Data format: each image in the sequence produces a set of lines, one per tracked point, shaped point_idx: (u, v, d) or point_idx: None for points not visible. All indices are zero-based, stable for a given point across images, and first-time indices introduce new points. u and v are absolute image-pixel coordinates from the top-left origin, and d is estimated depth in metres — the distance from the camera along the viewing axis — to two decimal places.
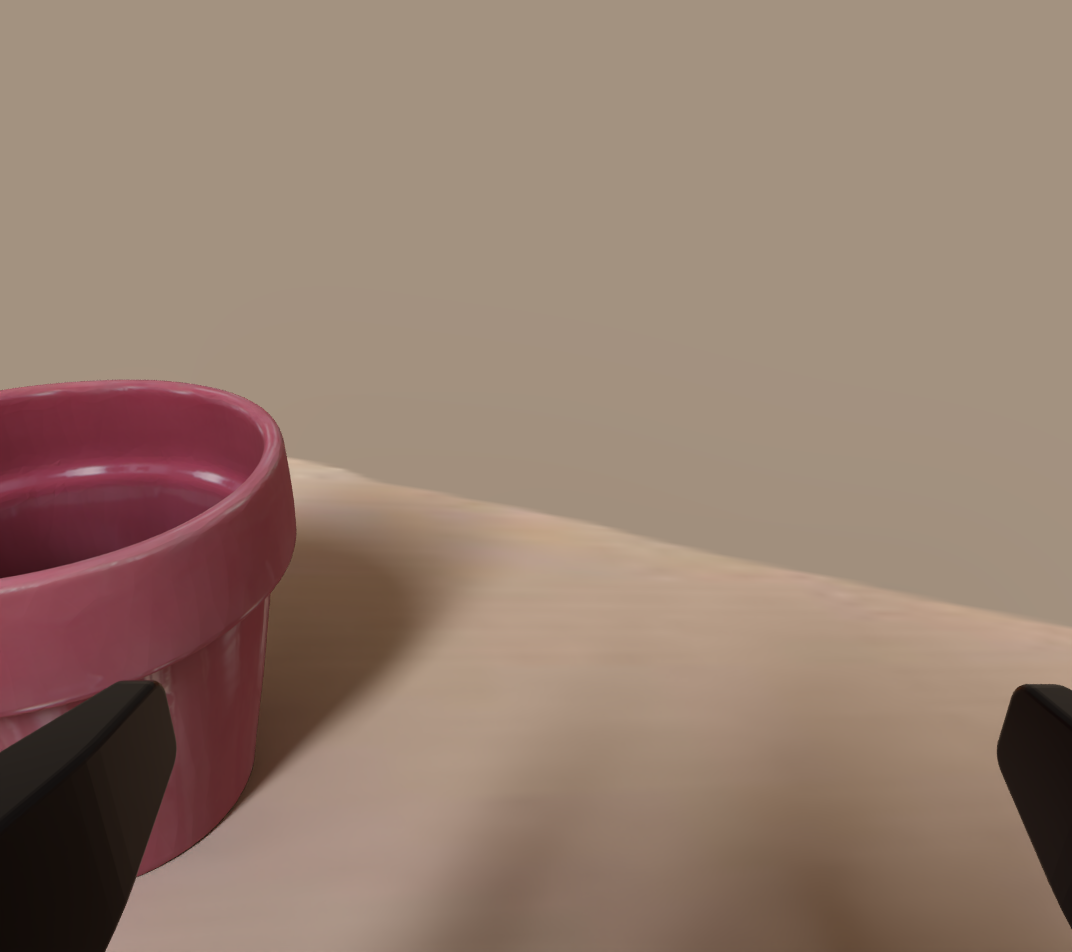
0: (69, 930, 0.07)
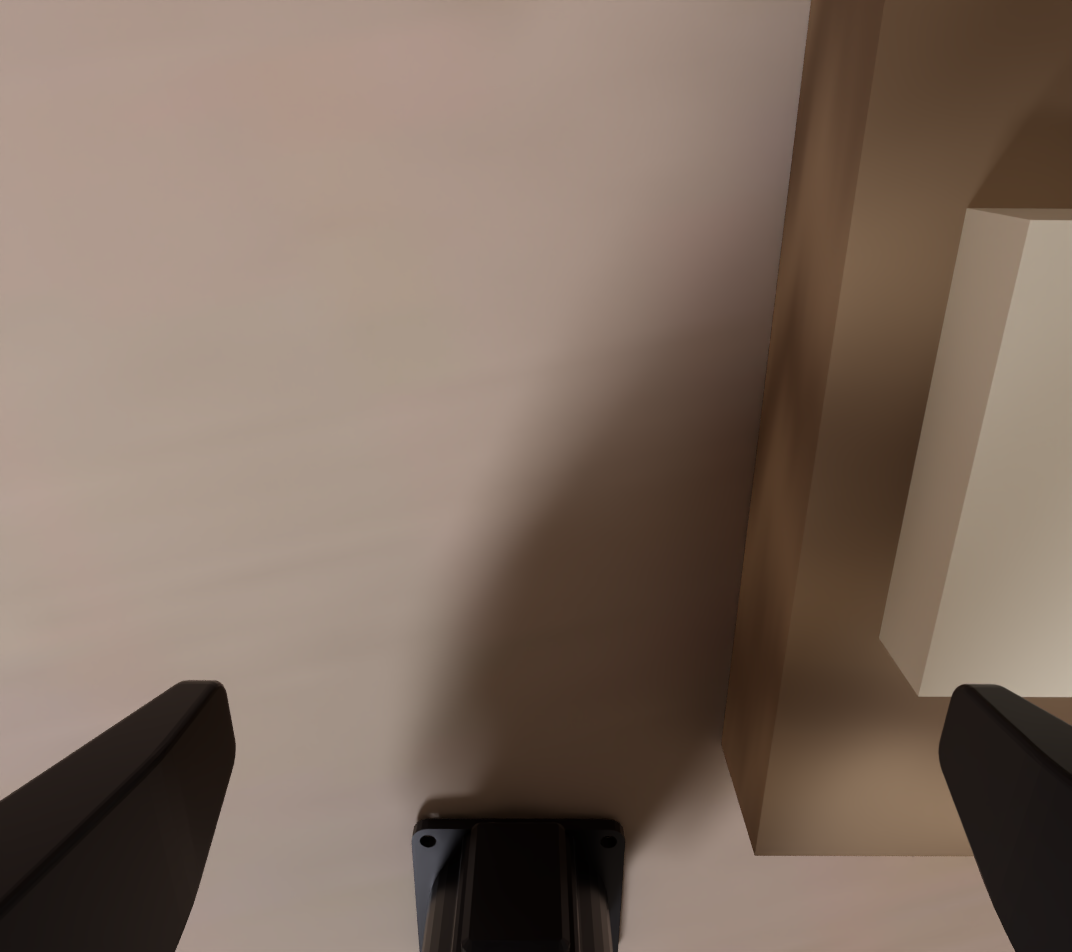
0: (143, 931, 0.07)
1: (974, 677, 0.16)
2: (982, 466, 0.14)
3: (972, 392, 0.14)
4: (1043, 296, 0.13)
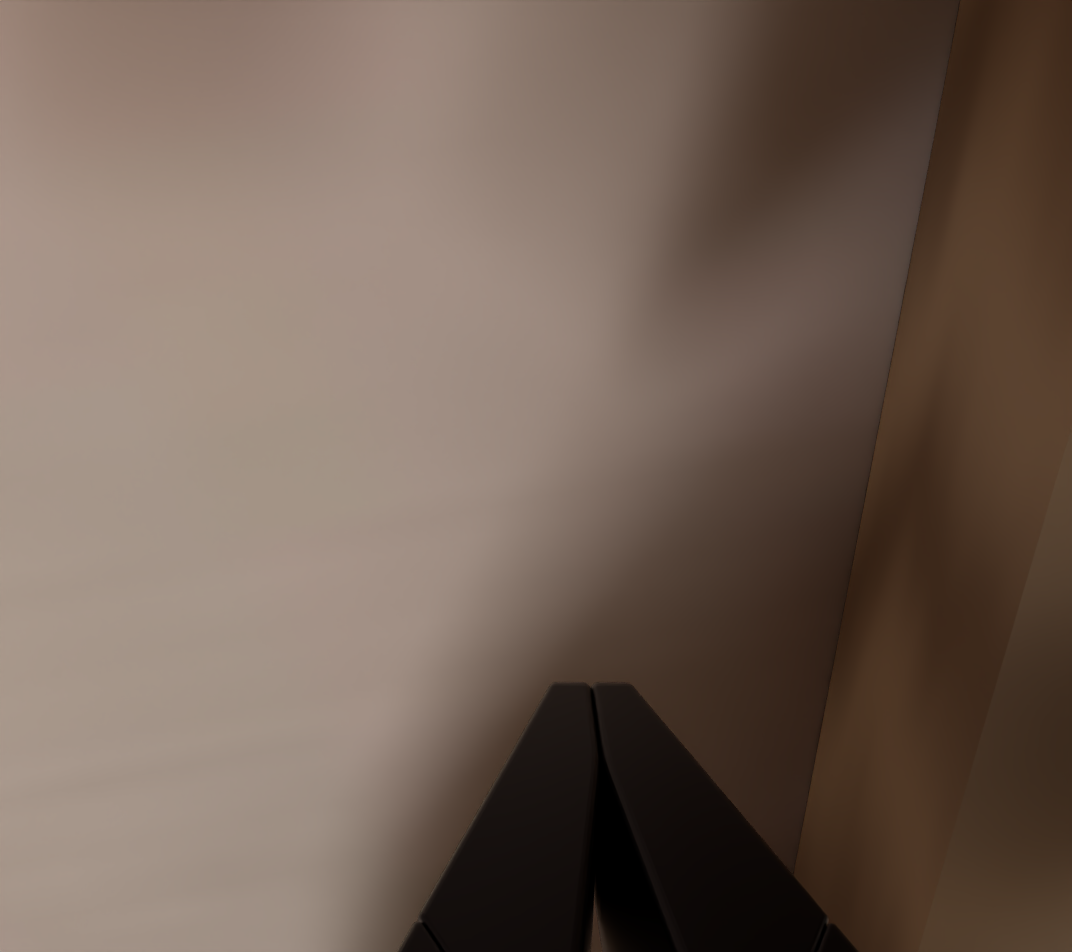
0: (589, 932, 0.07)
1: None
2: None
3: None
4: None
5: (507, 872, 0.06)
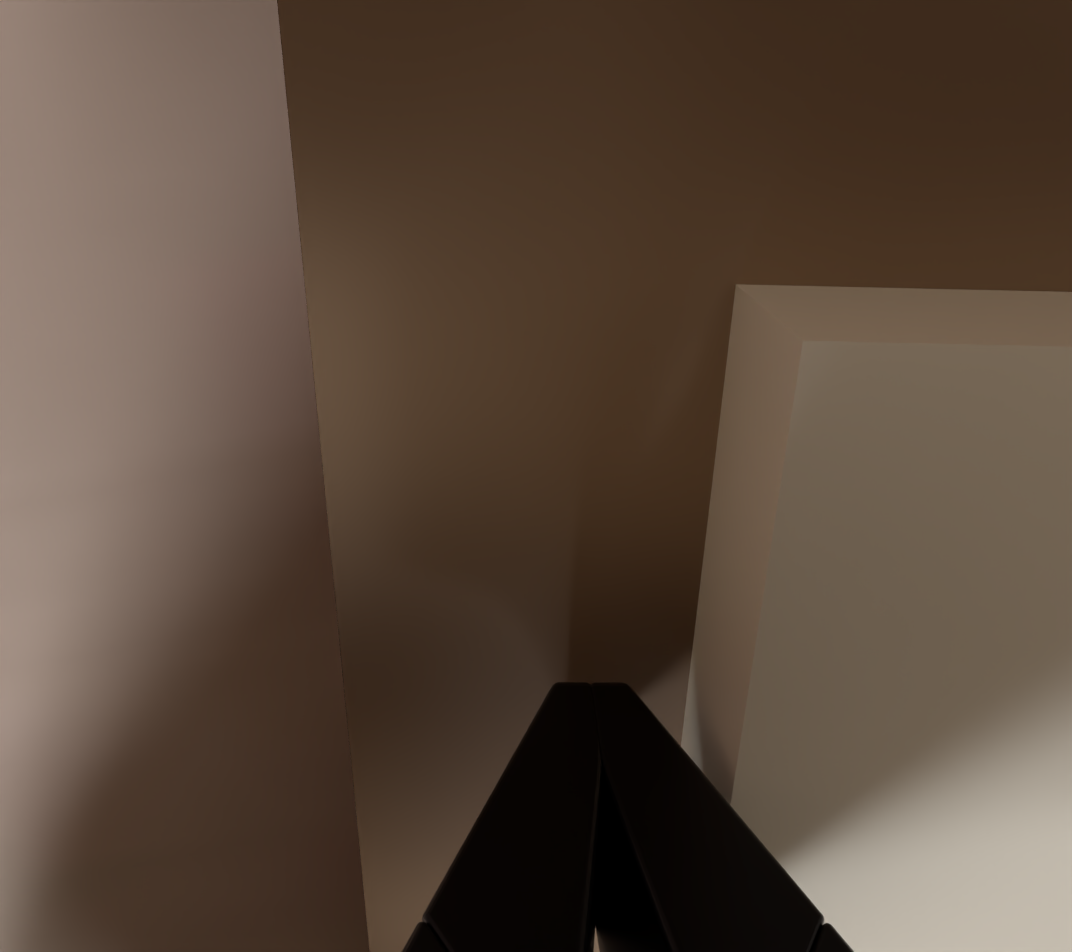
0: (592, 932, 0.07)
1: None
2: (749, 808, 0.07)
3: (731, 659, 0.07)
4: (848, 501, 0.06)
5: (511, 872, 0.06)
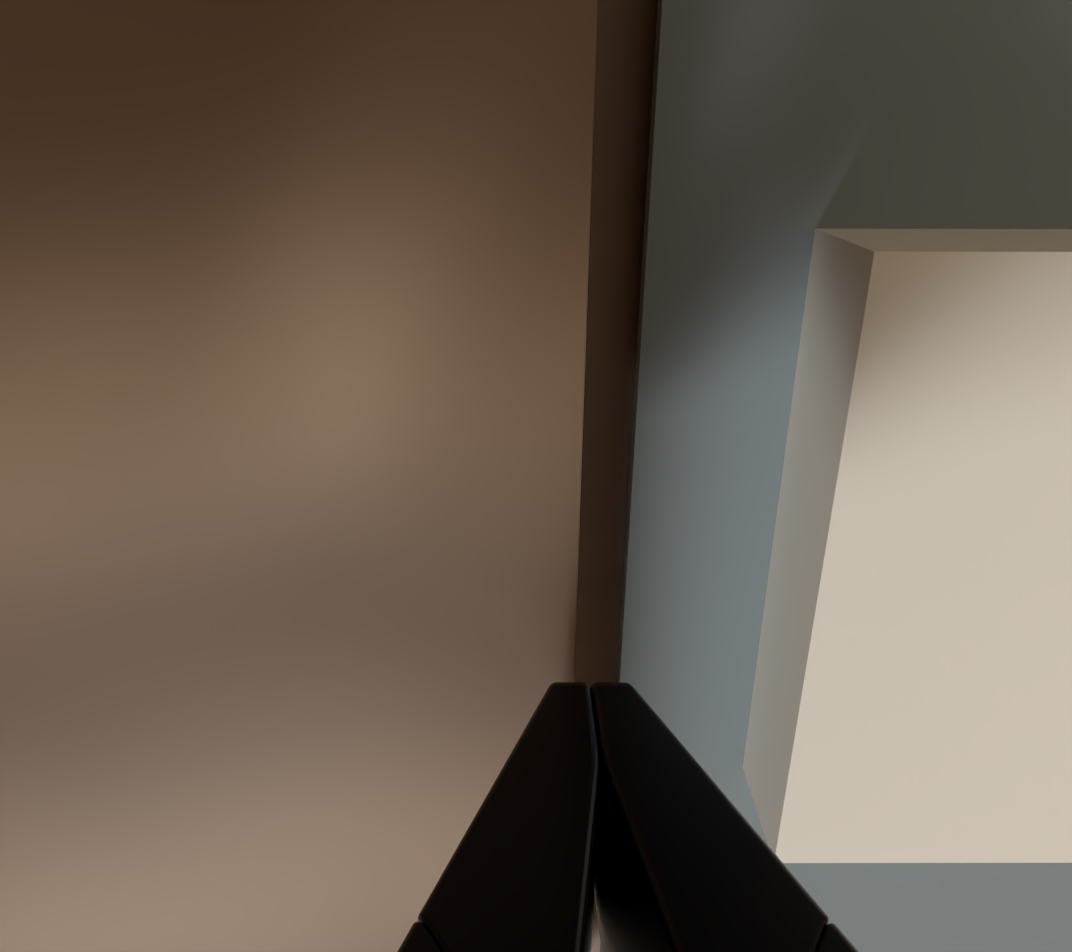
0: (589, 932, 0.07)
1: None
2: None
3: None
4: None
5: (507, 872, 0.06)
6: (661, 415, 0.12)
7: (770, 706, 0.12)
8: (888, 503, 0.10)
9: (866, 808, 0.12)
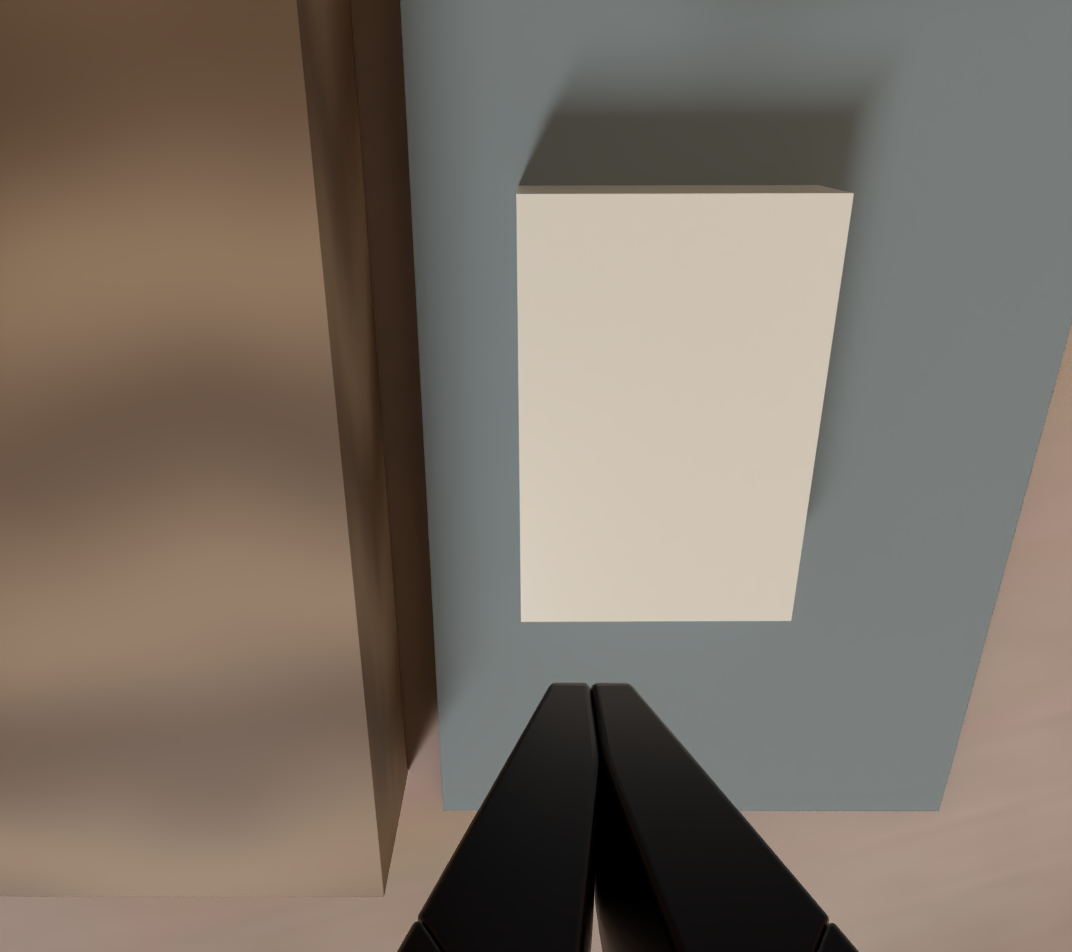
0: (589, 932, 0.07)
1: None
2: None
3: None
4: None
5: (507, 872, 0.06)
6: (433, 313, 0.17)
7: None
8: (553, 357, 0.16)
9: (576, 579, 0.18)
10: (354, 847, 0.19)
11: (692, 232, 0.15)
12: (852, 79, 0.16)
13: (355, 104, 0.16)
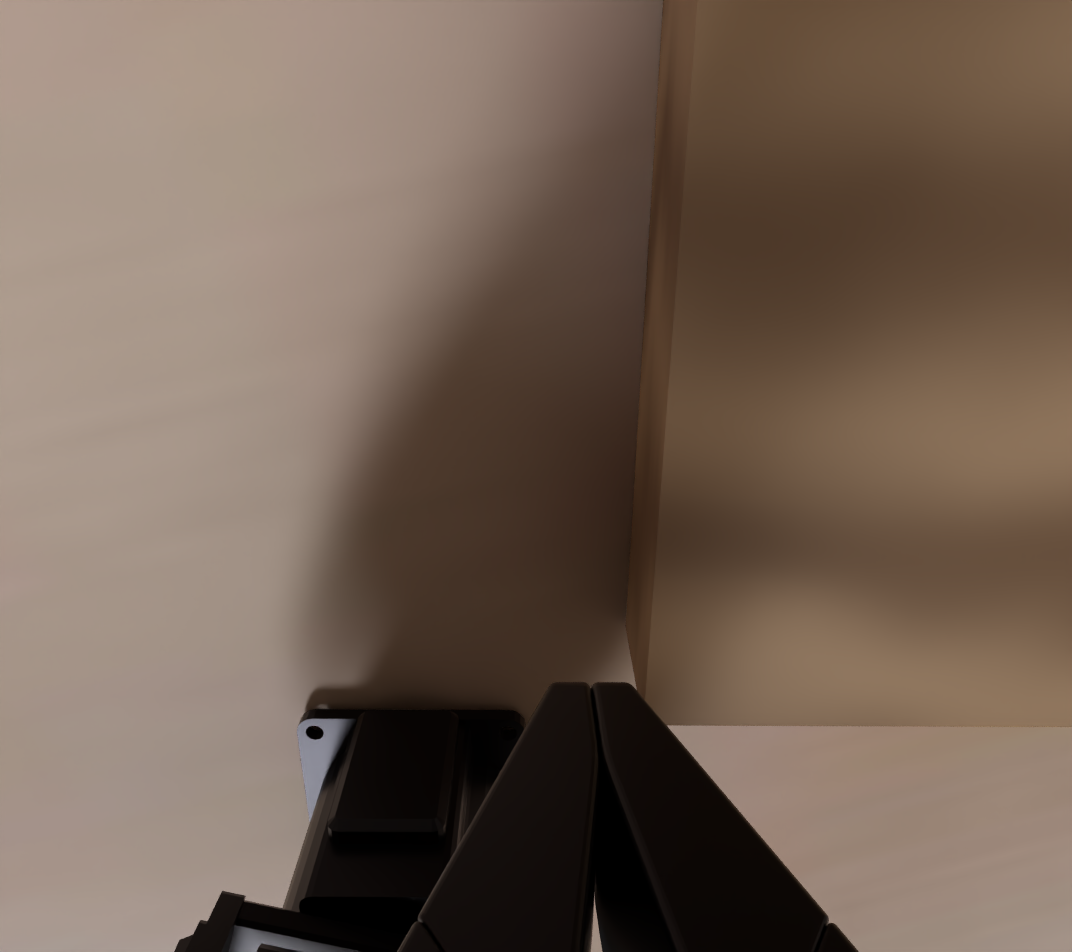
0: (589, 932, 0.07)
1: None
2: None
3: None
4: None
5: (507, 872, 0.06)
6: None
7: None
8: None
9: None
10: None
11: None
12: None
13: None
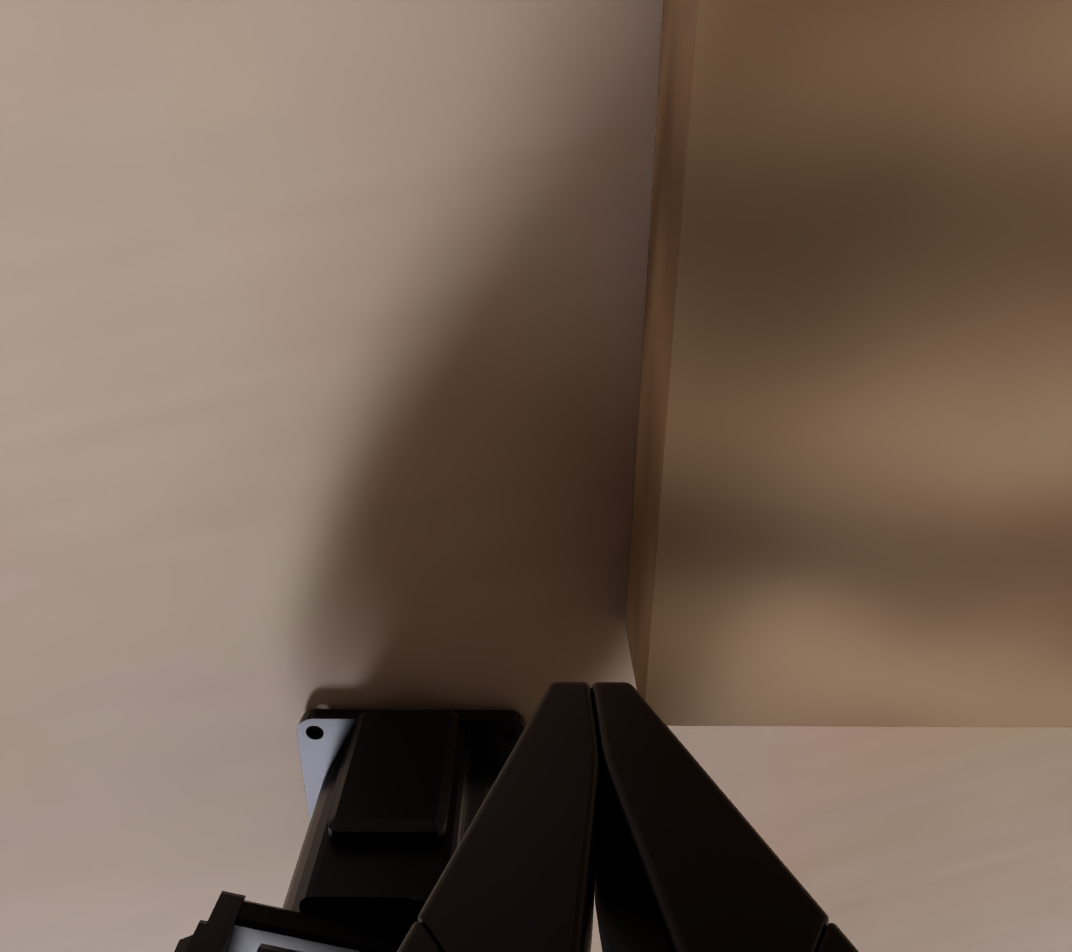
0: (589, 932, 0.07)
1: None
2: None
3: None
4: None
5: (507, 872, 0.06)
6: None
7: None
8: None
9: None
10: None
11: None
12: None
13: None
